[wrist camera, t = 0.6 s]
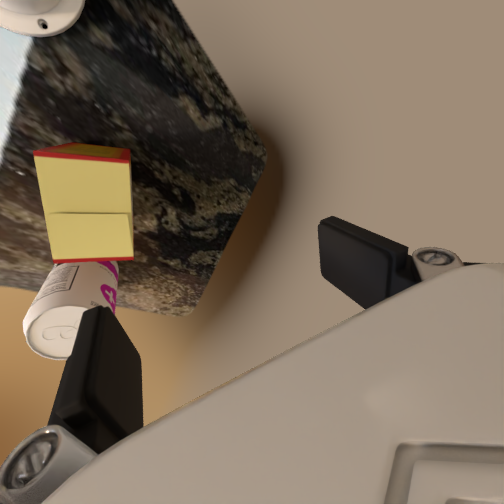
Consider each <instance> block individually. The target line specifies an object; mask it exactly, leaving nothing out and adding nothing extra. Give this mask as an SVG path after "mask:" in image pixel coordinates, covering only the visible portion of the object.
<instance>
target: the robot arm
mask: <svg viewBox="0 0 504 504" xmlns="http://www.w3.org/2000/svg"><path fill="white" fill-rule="evenodd" d="M84 4H85V0H0V26H1V27H3V28H5V29H7V30H10V31H12V32H15V33H19V34H22V35H26V36H33V37H47V36H54V35H57V34H60V33H62V32H64V31H66V30H67V29H69V28H70V27H71V26H73V24H74V23H75V22H76V21H77V19H78V18H79V17H80V15H81V12H82V10H83V8H84ZM43 24H46V25H47V27H48V28H47V29H44V28H43V27H42V25H43ZM318 239H319V253H320V266H321V273H322V276H323V277H324V278H325V279H326V280H328V281H329V282H330V283H331V284H333V285H334V286H335V287H337V288H338V289H339V290H341V291H342V292H343V293H345V294H346V295H347V296H349V297H350V298H351V299H352V300H354V301H355V302H356V303H358V304H359V305H360V306H362V307H363V308H364V309H365V310H364V311H362V312H360V313H358V314H356V315H354V316H352V317H350V318H348V319H346V320H344V321H342V322H340V323H339V324H337V325H335V326H333V327H331V328H329V329H327V330H325V331H323V332H321V333H319V334H317V335H315V336H314V337H312V338H310V339H308V340H306V341H304V342H302V343H300V344H298V345H296V346H294V347H292V348H290V349H289V350H287V351H285V352H283V353H281V354H279V355H277V356H275V357H273V358H271V359H269V360H267V361H265V362H264V363H262V364H260V365H258V366H256V367H254V368H252V369H250V370H248V371H247V372H245V373H243V374H241V375H239V376H238V377H235V378H233V379H231V380H230V381H228V382H226V383H224V384H222V385H220V386H218V387H216V388H214V389H212V390H211V391H209V392H207V393H205V394H203V395H201V396H199V397H197V398H195V399H194V400H192V401H190V402H188V403H186V404H184V405H183V406H181V407H179V408H177V409H175V410H173V411H172V412H170V413H168V414H166V415H164V416H162V417H161V418H159V419H157V420H155V421H154V422H152V423H150V424H148V425H146V426H144V427H143V399H142V369H141V358H140V355H139V353H138V351H137V350H136V348H135V347H134V345H133V343H132V342H131V340H130V339H129V337H128V335H127V334H126V332H125V331H124V329H123V328H122V326H121V324H120V323H119V321H118V320H117V318H116V317H115V315H114V313H113V312H112V310H111V309H110V307H108V306H107V307H103V306H102V305H99V306H96V307H94V308H91V309H88V310H86V311H84V312H83V314H82V317H81V321H80V324H79V328H78V332H77V335H76V339H75V342H74V346H73V349H72V353H71V355H70V356H69V357H68V358H67V361H66V364H65V367H64V371H63V374H62V378H61V381H60V384H59V388H58V391H57V394H56V398H55V401H54V405H53V408H52V412H51V415H50V418H49V421H48V425H47V426H46V427H43V428H41V429H38V430H37V431H35V432H34V433H32V434H31V435H29V436H28V437H27V438H25V439H24V440H23V441H22V442H21V443H19V444H18V445H17V446H16V448H15V449H14V450H13V451H12V452H11V453H10V454H9V455H8V457H7V458H6V460H5V461H4V463H3V464H2V465H1V467H0V504H504V264H503V263H467V262H462V261H461V260H460V258H459V257H458V256H457V255H456V254H455V253H453V252H451V251H449V250H446V249H442V248H437V247H425V248H420V249H417V250H415V251H414V252H413V254H412V256H410V255H408V247H407V246H404V245H402V244H399V243H397V242H395V241H392V240H390V239H388V238H385V237H383V236H380V235H378V234H376V233H373V232H371V231H368V230H366V229H363V228H361V227H359V226H356V225H354V224H351V223H349V222H347V221H344V220H342V219H339V218H337V217H334V216H331V217H328V218H325V219H323V220H321V221H320V224H319V225H318Z"/></svg>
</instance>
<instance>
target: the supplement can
mask: <svg viewBox="0 0 504 504" xmlns="http://www.w3.org/2000/svg"><path fill="white" fill-rule="evenodd" d="M118 274H119V267H118V264H117V262H116V261H98V262H77V263H56V264H55V265H54V266H53V268H52V270H51V272H50V273H49V275H48V277H47V279H46V280H45V282H44V284H43V286H42V287H41V289H40V291H39V293H38V294H37V296H36V298H35V299H34V301H33V303H32V305H31V306H30V308H29V310H28V312H27V314H26V316H25V318H24V321H23V329H24V334H25V336H26V342H27V343H28V345H29V346H30V348H31V349H32V351H34V352H36V353H37V354H39V355H41V356H42V357H46V358H50V359H54V360H67V358H68V357H69V356H70V355H71V353H72V349H73V346H74V342H75V339H76V335H77V332H78V328H79V324H80V321H81V317H82V314H83V312H84V311H86V310H88V309H91V308H94V307H96V306H99V305H102V306H103V307H107V306H108V307H110V309H111V310H112V312H113V313H114V315H115V307H116V296H117V285H118Z"/></svg>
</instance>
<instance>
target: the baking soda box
mask: <svg viewBox="0 0 504 504" xmlns="http://www.w3.org/2000/svg"><path fill="white" fill-rule="evenodd" d="M33 154H34V159H35V165H36V170H37V176H38V181H39V186H40V192H41V197H42V203H43V208H44V214H45V219H46V225H47V230H48V235H49V241H50V246H51V252H52V257H53V263H54V264H56V263H77V262H98V261H119V260H134V234H133V201H132V180H131V158H130V149H125V148H117V147H108V146H99V145H91V144H82V143H68V144H63V145H58V146H53V147H49V148H44V149H39V150H34V151H33Z"/></svg>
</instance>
